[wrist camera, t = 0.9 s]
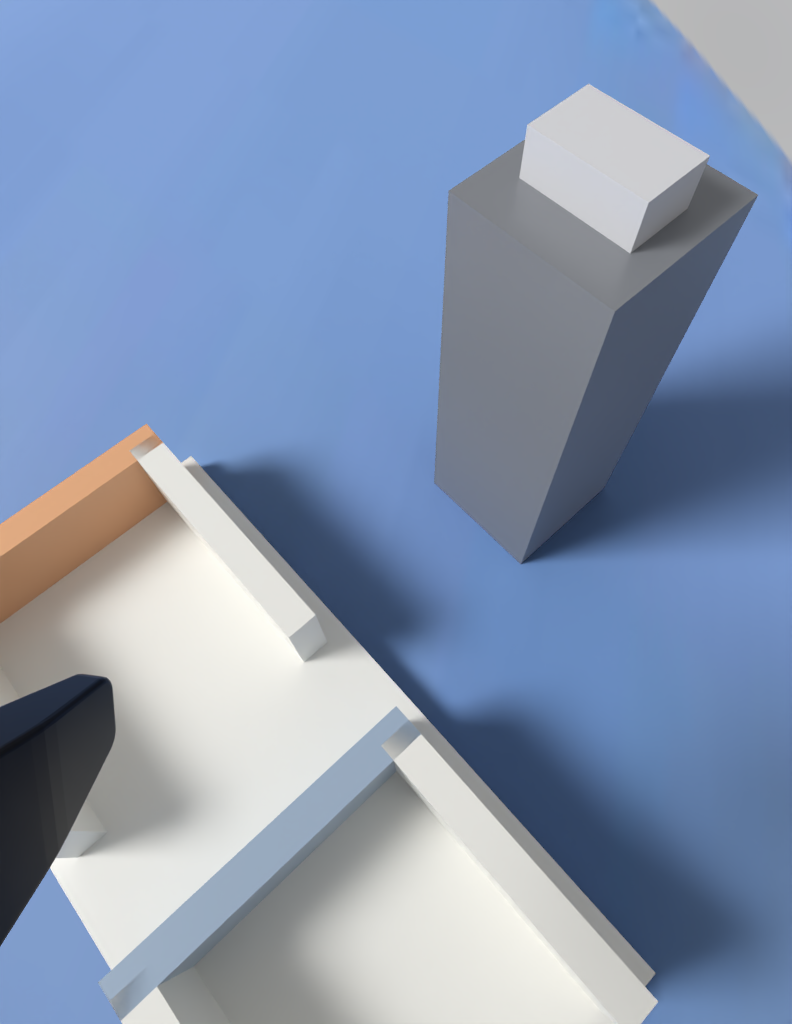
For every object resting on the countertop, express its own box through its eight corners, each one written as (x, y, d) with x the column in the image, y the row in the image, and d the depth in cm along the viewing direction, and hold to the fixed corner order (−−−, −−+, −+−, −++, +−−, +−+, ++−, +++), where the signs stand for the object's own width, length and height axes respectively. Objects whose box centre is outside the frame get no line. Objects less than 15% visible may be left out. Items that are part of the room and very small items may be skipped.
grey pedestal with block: (604, 488, 26) (786, 141, 13) (520, 564, 25) (632, 262, 12) (516, 414, 27) (604, 39, 15) (434, 482, 26) (451, 138, 13)
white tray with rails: (647, 968, 19) (696, 994, 16) (347, 1337, 16) (329, 1467, 13) (197, 466, 27) (165, 411, 23) (-66, 656, 24) (-147, 624, 20)
